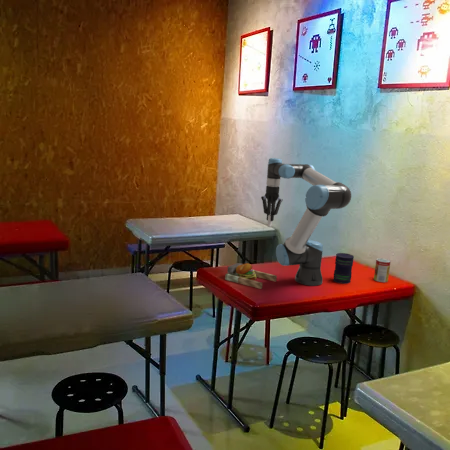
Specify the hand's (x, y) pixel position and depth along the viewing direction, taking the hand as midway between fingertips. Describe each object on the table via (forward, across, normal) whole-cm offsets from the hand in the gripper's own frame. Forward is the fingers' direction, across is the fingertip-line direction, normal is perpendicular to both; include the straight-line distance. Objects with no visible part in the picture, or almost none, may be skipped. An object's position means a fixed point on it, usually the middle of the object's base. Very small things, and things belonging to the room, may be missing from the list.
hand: (269, 226), depth 286 cm
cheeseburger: (+27, 0, +23) cm, 35 cm away
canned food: (+27, -59, -31) cm, 72 cm away
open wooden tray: (+26, -3, +23) cm, 35 cm away
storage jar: (+27, -42, -13) cm, 51 cm away
